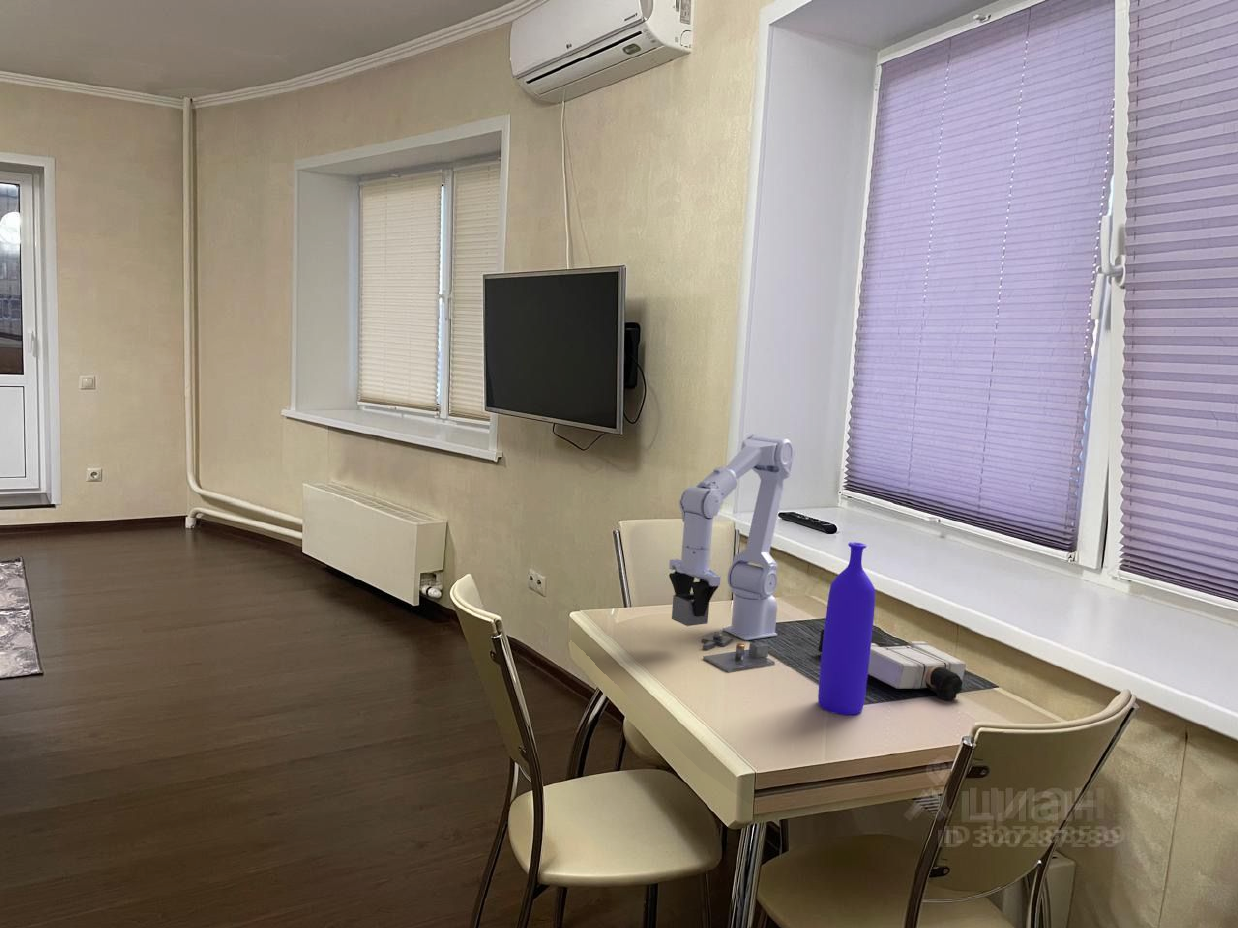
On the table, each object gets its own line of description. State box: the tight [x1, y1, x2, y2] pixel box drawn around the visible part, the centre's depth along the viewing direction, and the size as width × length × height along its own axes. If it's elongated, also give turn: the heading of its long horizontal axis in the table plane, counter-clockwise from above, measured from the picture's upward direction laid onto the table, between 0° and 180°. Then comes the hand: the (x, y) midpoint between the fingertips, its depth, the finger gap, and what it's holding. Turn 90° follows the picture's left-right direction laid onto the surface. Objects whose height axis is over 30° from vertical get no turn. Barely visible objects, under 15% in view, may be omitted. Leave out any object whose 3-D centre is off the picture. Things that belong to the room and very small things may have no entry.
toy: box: [817, 629, 967, 702], centre depth 189 cm, size 19×7×30 cm
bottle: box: [817, 541, 876, 716], centre depth 168 cm, size 8×8×30 cm
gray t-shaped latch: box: [701, 631, 734, 651], centre depth 200 cm, size 10×5×2 cm, turn 152°
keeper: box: [702, 641, 776, 673], centre depth 190 cm, size 12×8×4 cm, turn 123°
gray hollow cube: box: [671, 592, 710, 627], centre depth 192 cm, size 5×5×5 cm
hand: (690, 611), depth 192 cm, fingers closed on gray hollow cube, 5 cm apart
